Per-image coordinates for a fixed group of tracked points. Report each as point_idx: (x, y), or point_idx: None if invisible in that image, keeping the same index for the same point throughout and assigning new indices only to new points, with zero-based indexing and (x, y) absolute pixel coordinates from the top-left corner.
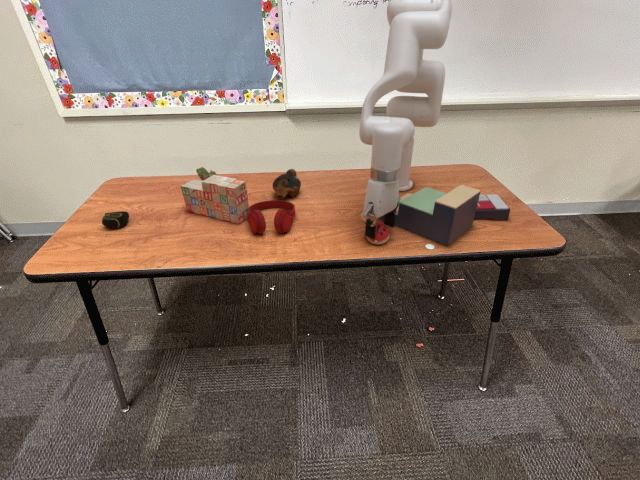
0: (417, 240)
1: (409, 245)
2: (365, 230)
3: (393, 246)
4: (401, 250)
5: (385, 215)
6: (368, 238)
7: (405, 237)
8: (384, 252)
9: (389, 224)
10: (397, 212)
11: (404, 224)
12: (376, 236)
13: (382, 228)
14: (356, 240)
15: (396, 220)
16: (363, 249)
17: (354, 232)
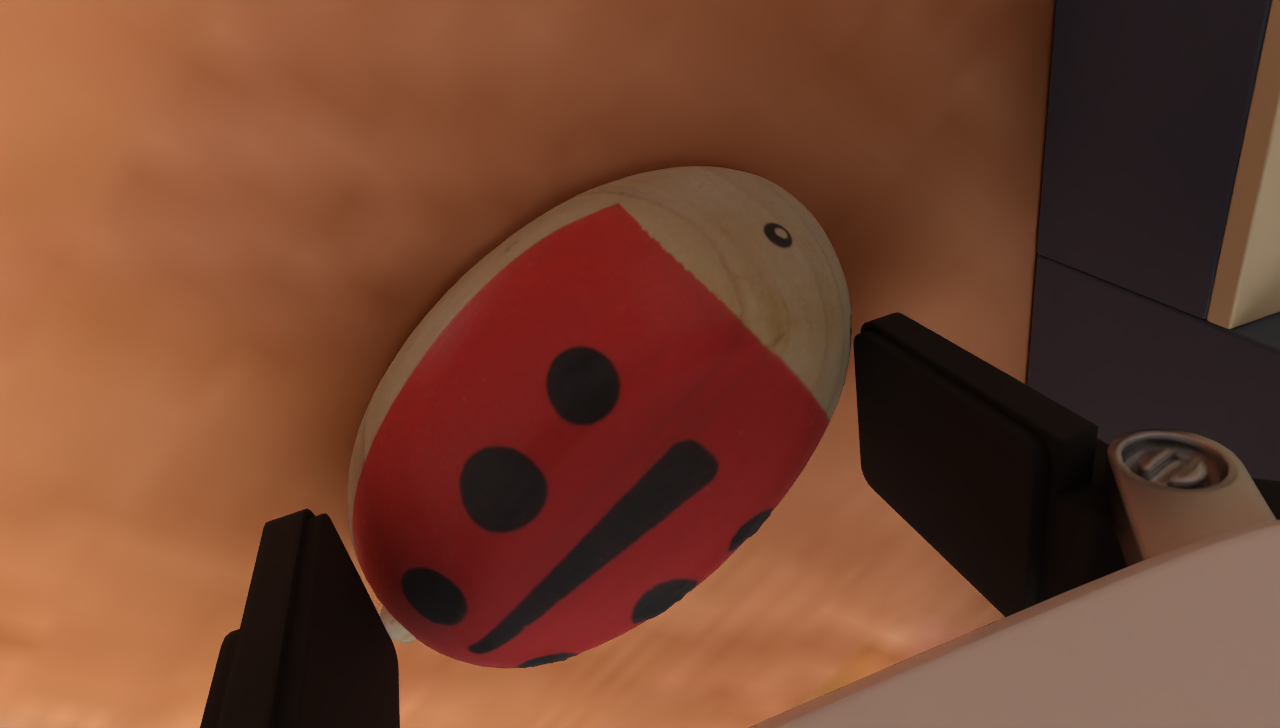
0: (908, 623)
1: (770, 672)
2: (250, 601)
3: (610, 640)
4: (627, 722)
5: (989, 441)
6: (350, 491)
7: (870, 536)
8: (420, 709)
9: (882, 452)
10: (1278, 280)
11: (1079, 401)
12: (436, 648)
13: (660, 578)
14: (172, 310)
15: (1107, 273)
16: (159, 580)
17: (291, 20)
